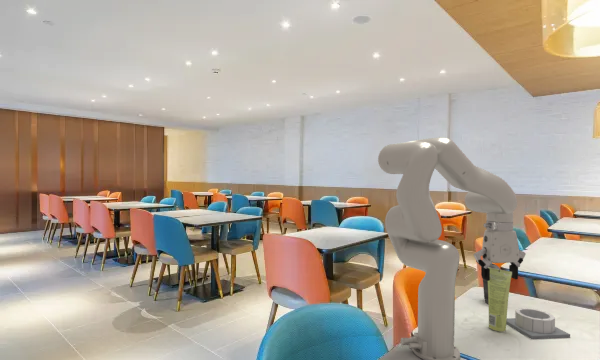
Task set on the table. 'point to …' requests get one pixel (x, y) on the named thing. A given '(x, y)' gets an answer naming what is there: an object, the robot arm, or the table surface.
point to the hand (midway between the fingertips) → (499, 278)
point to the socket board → (537, 335)
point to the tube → (498, 298)
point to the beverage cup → (485, 284)
